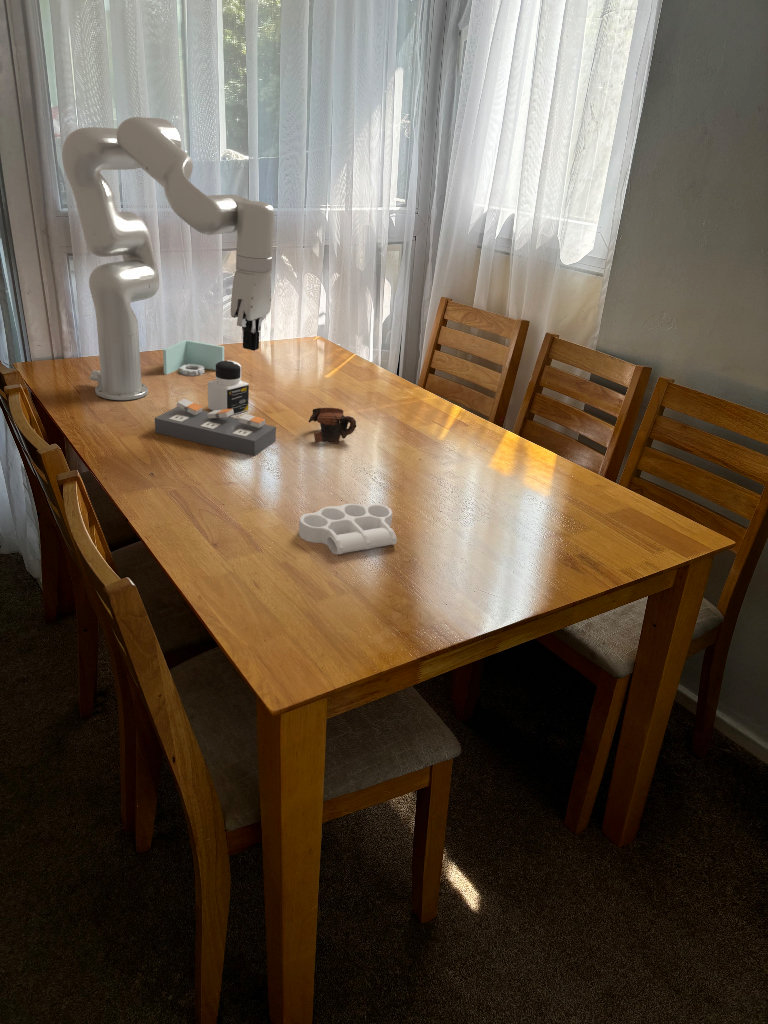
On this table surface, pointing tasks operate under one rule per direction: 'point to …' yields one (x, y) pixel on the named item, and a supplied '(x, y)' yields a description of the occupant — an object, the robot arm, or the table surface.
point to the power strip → (215, 431)
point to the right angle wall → (192, 357)
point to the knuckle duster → (349, 527)
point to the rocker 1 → (189, 406)
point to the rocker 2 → (220, 413)
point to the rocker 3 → (252, 420)
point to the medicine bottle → (228, 388)
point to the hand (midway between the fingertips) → (250, 348)
